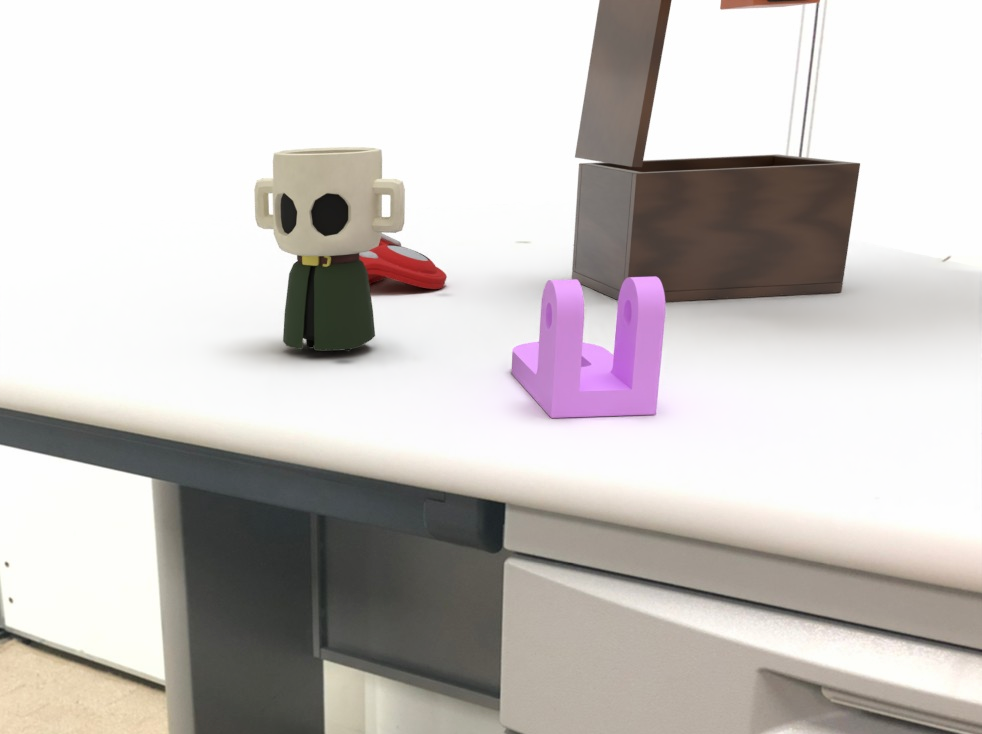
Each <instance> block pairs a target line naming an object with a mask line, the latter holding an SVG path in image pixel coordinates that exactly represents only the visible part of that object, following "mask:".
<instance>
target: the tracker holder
mask: <svg viewBox="0 0 982 734" xmlns="http://www.w3.org/2000/svg"><path fill="white" fill-rule="evenodd" d="M359 260H361V261H362V262H363V263H364V265H365V267H366V269H367V272H368V279H369V285H371V284H374V283H376V282H379V281H382V280H384V278H387V279H390V280H393V281H397V282H400V283H404V284H406V285H407V284H408V285H411V286H415V287H419V288H421V289H422V288H423V289H428V290H440V289H442V288H444V286H445V284H446V281H447V278H448V277H447V273H446V272H444V270H443V269H441V268H439V267H438V266H436V264H435V263H434V262H433V261H432V260H431V258H429V257H427V256H426V255H425V254H423V253H421V252H418V251H416V250H414V249H411V248H408V247H405V246H402V242H401V241H399V240H397V239H396V238H393V237H391V236H389V235H387V234H386V233H385V234H384V233H382V236H381V239H380V243H379V246H377V247H375V248H373V249H371V250H369V251H367V252H362V253H359Z"/></svg>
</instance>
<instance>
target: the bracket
mask: <svg viewBox="0 0 982 734" xmlns="http://www.w3.org/2000/svg"><path fill="white" fill-rule="evenodd" d="M540 303H541V304H540V319H539V335H538V336H539V339H538V341H531V342H525V343H521V344H519V345H516V346H514V347H513V348H512V352H511V353H512V354H511V375H512V376H513V377H514V378H515V379H516V380H517V382H518V383H520V385H521V386H522V387H523V388H524V389H525V390H526V391H527V393H528V394H529V395H530V396H531V397H532V399H534V401H535V402H537V404H538V405H539V406H540V407H541V408H542V409H543V411H544V412H545V413H546V414H547V415H548V416H549V417H550V418H551V419H557V418H559V419H561V418H587V417H589V418H590V417H591V418H592V417H619V416H649V415H650V416H651V415H657V409H658V408H657V407H658V397H659V388H660V387H659V386H660V376H661V367H662V366H661V364H662V357H663V356H662V355H663V345H664V334H665V333H664V332H665V322H666V302H665V295H664V289H663V286H662V283H661V281H660V279H659V278H658V277H655V276H654V277H628V278H626V279H625V280H624V282H623V284H622V286H621V289H620V293H619V299H618V300H617V307H616V308H617V309H616V322H615V332H614V333H615V335H614V346H613V353H612V352H610V350H608V349H606V348H605V347H603V346H601V345H598V344H593V343H590V342H583V340H584V329H585V328H584V326H585V299H584V292H583V287H582V284H580V282H579V281H578V280H577V279H572V278H571V279H549V280H547V281H546V283H545V285H544V287H543V290H542V296H541V302H540Z"/></svg>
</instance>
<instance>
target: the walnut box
mask: <svg viewBox="0 0 982 734" xmlns="http://www.w3.org/2000/svg"><path fill="white" fill-rule="evenodd" d="M860 168H861V163H860V162H854V161H853V162H852V161H842V160H833V159H825V158H824V159H823V158H815V157H805V156H797V155H788V154H787V155H786V154H779V153H777V154H758V155H757V154H756V155H755V154H753V155H735V156H733V155H732V156H713V157H691V158H670V159H666V158H665V159H647V160H644V159H643V164H642V167H630V166H624V165H618V164H612V163H606V162H599V161H598V162H581V163H580V162H579V163H578V173H577V188H576V189H577V191H576V204H575V220H574V234H573V235H574V236H573V249H572V252H573V253H572V267H571V279H577V280H578V281H579V282H580V284H581V285H583V286H585V287H587V288H589V289H592V290H594V291H597V292H599V293H601V294H603V295H604V296H605V295H606V296H608V297H610V298H613V299H615V300H617V301H618V299H619V293H620V289H621V286H622V284H623V282H624V280H625V279H626V278H628V277H654V276H655V277H658V278H659V279H660V281H661V283H662V286H663V289H664V295H665V303H667V302H668V303H669V302H686V301H687V302H688V301H689V302H690V301H707V300H725V299H744V298H760V297H761V298H762V297H779V296H781V297H782V296H799V295H818V294H836V293H837V294H838V293H842V290H843V284H844V278H845V272H846V271H845V270H846V263H847V257H848V251H849V244H850V236H851V231H852V230H851V229H852V223H853V216H854V211H855V210H854V209H855V203H856V195H857V188H858V182H859V176H860V174H859V173H860Z"/></svg>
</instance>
